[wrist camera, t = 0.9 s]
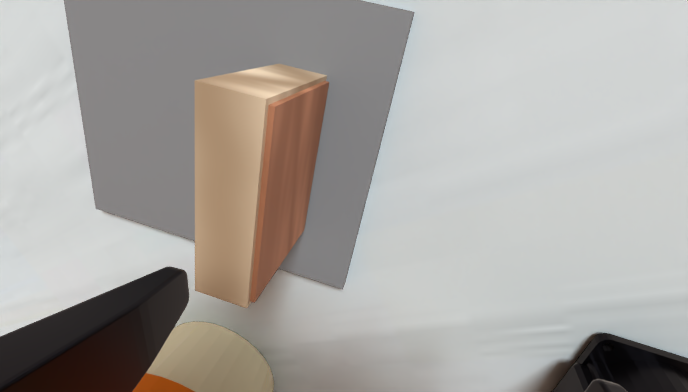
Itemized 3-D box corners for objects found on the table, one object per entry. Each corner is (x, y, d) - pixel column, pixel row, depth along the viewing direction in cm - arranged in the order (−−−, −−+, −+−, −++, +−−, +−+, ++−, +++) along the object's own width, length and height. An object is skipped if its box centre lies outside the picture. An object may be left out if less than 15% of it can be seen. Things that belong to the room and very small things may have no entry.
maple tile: (331, 76, 15) (272, 100, 10) (304, 231, 19) (252, 310, 13) (279, 63, 15) (194, 80, 10) (262, 218, 19) (195, 290, 14)
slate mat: (414, 12, 14) (413, 12, 13) (345, 282, 20) (342, 289, 20) (66, -63, 16) (53, -66, 15) (104, 204, 22) (96, 208, 22)
